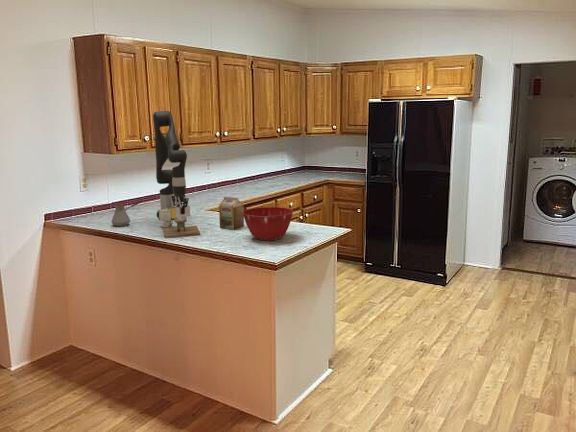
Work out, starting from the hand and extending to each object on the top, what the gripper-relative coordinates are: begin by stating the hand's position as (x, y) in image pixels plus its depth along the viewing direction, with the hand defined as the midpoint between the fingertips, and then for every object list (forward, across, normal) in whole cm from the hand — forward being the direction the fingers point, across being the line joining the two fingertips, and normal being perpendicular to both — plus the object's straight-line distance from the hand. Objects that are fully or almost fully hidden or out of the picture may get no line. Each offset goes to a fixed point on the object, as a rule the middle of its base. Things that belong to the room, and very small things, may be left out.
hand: (180, 213), depth 297 cm
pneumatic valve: (+12, -20, +4) cm, 24 cm away
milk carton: (+12, +13, +28) cm, 33 cm away
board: (+12, 0, 0) cm, 12 cm away
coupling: (+5, 0, 0) cm, 5 cm away
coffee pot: (+12, -46, -7) cm, 48 cm away
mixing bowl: (+12, +48, +24) cm, 55 cm away
